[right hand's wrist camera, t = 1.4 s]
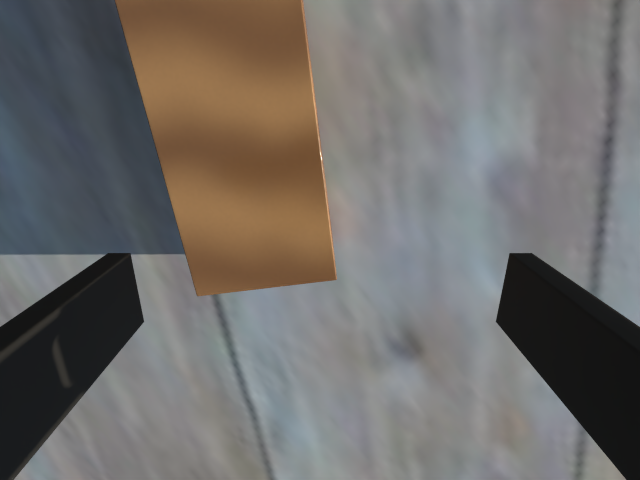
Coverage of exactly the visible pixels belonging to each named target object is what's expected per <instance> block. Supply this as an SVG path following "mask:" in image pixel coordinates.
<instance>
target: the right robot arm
mask: <svg viewBox="0 0 640 480" xmlns="http://www.w3.org/2000/svg"><path fill="white" fill-rule="evenodd" d="M143 322H144V319H143V314H142V309H141V304H140V299H139V294H138V289H137V284H136V279H135V274H134V269H133V264H132V259H131V254H130V253H108V254H106V255H105V256H103V257H102V258H101V259H99V260H98V261H96V262H95V263H93V264H92V265H90V266H89V267H87V268H86V269H84V270H83V271H82V272H80V273H79V274H77V275H76V276H74V277H73V278H71V279H70V280H68V281H67V282H65V283H64V284H63V285H61V286H60V287H58V288H57V289H55V290H54V291H52V292H51V293H49V294H48V295H46V296H45V297H43V298H42V299H41V300H39V301H38V302H36V303H35V304H33V305H32V306H30V307H29V308H27V309H26V310H24V311H23V312H22V313H20V314H19V315H17V316H16V317H14V318H13V319H11V320H10V321H8V322H7V323H5V324H4V325H2V326H1V327H0V480H14V478H15V477H16V476H17V475H18V474H19V472H20V471H21V470H22V469H23V468H24V466H25V465H26V464H27V463H28V462H29V460H30V459H31V458H32V457H33V455H34V454H35V453H36V452H37V451H38V449H39V448H40V447H41V446H42V445H43V443H44V442H45V441H46V440H47V439H48V437H49V436H50V435H51V434H52V432H53V431H54V430H55V429H56V428H57V426H58V425H59V424H60V423H61V422H62V420H63V419H64V418H65V417H66V416H67V414H68V413H69V412H70V411H71V409H72V408H73V407H74V406H75V405H76V403H77V402H78V401H79V400H80V399H81V397H82V396H83V395H84V394H85V393H86V391H87V390H88V389H89V388H90V386H91V385H92V384H93V383H94V382H95V380H96V379H97V378H98V377H99V376H100V374H101V373H102V372H103V371H104V370H105V368H106V367H107V366H108V365H109V363H110V362H111V361H112V360H113V359H114V357H115V356H116V355H117V354H118V353H119V351H120V350H121V349H122V348H123V346H124V345H125V344H126V343H127V342H128V340H129V339H130V338H131V337H132V336H133V334H134V333H135V332H136V331H137V330H138V328H139V327H140V326H141V325H142V323H143ZM496 322H497V323H498V325H499V326H500V327H501V328H502V330H503V331H504V332H505V333H506V334H507V336H508V337H509V338H510V339H511V340H512V342H513V343H514V344H515V345H516V346H517V348H518V349H519V350H520V351H521V353H522V354H523V355H524V356H525V357H526V359H527V360H528V361H529V362H530V363H531V365H532V366H533V367H534V368H535V370H536V371H537V372H538V373H539V374H540V376H541V377H542V378H543V379H544V380H545V382H546V383H547V384H548V385H549V386H550V388H551V389H552V390H553V391H554V393H555V394H556V395H557V396H558V397H559V399H560V400H561V401H562V402H563V403H564V405H565V406H566V407H567V408H568V409H569V411H570V412H571V413H572V414H573V416H574V417H575V418H576V419H577V420H578V422H579V423H580V424H581V425H582V426H583V428H584V429H585V430H586V431H587V432H588V434H589V435H590V436H591V437H592V439H593V440H594V441H595V442H596V443H597V445H598V446H599V447H600V448H601V449H602V451H603V452H604V453H605V454H606V455H607V457H608V458H609V459H610V460H611V462H612V463H613V464H614V465H615V466H616V468H617V469H618V470H619V471H620V472H621V474H622V475H623V476H624V477H625V478H626V480H640V327H639V326H637V325H636V324H635V323H633V322H632V321H630V320H629V319H627V318H626V317H624V316H623V315H621V314H620V313H618V312H617V311H616V310H614V309H613V308H611V307H610V306H608V305H607V304H605V303H604V302H602V301H601V300H599V299H598V298H597V297H595V296H594V295H592V294H591V293H589V292H588V291H586V290H585V289H583V288H582V287H580V286H579V285H577V284H576V283H575V282H573V281H572V280H570V279H569V278H567V277H566V276H564V275H563V274H561V273H560V272H558V271H557V270H556V269H554V268H553V267H551V266H550V265H548V264H547V263H545V262H544V261H542V260H541V259H539V258H538V257H537V256H535V255H534V254H532V253H510V254H509V259H508V264H507V269H506V274H505V279H504V284H503V289H502V294H501V299H500V304H499V309H498V314H497V319H496Z"/></svg>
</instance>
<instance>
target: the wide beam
mask: <svg viewBox="0 0 640 480" xmlns="http://www.w3.org/2000/svg"><path fill="white" fill-rule="evenodd" d="M115 3H116V7H117V10H118V14H119V18H120V21H121V25H122V28H123V32H124V36H125V39H126V43H127V46H128V50H129V53H130V57H131V61H132V64H133V68H134V71H135V75H136V79H137V82H138V86H139V89H140V93H141V97H142V100H143V104H144V107H145V111H146V115H147V118H148V122H149V125H150V129H151V132H152V136H153V140H154V143H155V147H156V150H157V154H158V158H159V161H160V165H161V168H162V172H163V176H164V179H165V183H166V186H167V190H168V194H169V197H170V201H171V204H172V208H173V211H174V215H175V219H176V222H177V226H178V229H179V233H180V237H181V240H182V244H183V247H184V251H185V255H186V258H187V262H188V265H189V269H190V273H191V276H192V280H193V283H194V287H195V290H196V294H197V296H203V295H212V294H221V293H229V292H238V291H246V290H255V289H263V288H272V287H280V286H289V285H297V284H306V283H314V282H323V281H331V280H337V275H336V266H335V257H334V248H333V239H332V231H331V223H330V214H329V206H328V198H327V190H326V182H325V174H324V166H323V158H322V150H321V142H320V134H319V126H318V118H317V110H316V102H315V94H314V86H313V78H312V70H311V62H310V53H309V45H308V37H307V29H306V21H305V13H304V5H303V0H115Z"/></svg>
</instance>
